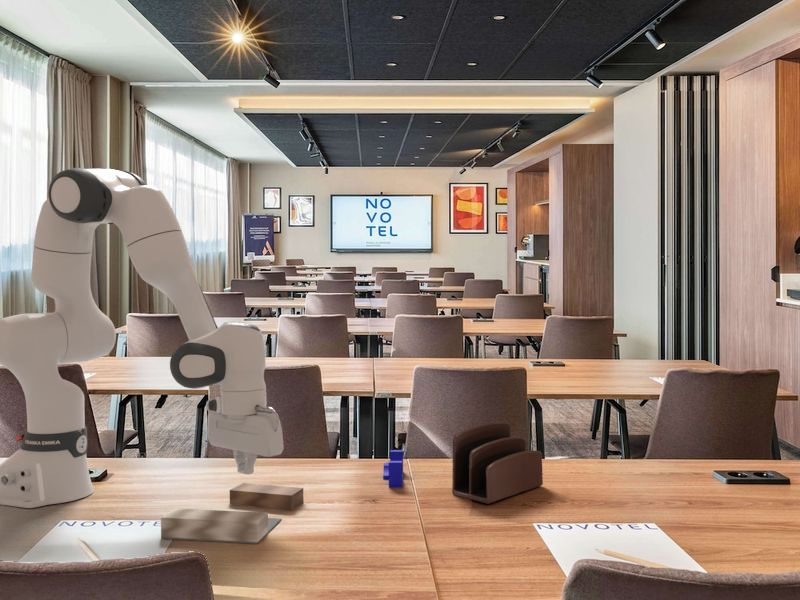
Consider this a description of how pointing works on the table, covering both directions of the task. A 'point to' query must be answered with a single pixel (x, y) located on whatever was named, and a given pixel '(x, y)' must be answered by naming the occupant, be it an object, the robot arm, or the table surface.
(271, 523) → the underlay mat
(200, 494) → the table surface
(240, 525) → the beige wooden block
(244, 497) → the walnut plank
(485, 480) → the letter holder
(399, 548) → the table surface
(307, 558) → the table surface
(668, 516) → the table surface
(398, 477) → the cable clip
